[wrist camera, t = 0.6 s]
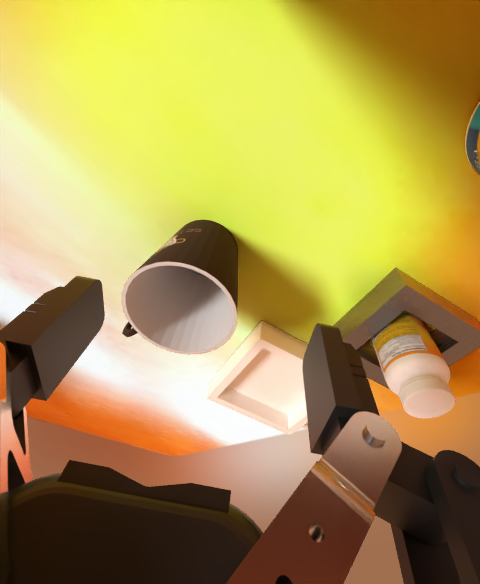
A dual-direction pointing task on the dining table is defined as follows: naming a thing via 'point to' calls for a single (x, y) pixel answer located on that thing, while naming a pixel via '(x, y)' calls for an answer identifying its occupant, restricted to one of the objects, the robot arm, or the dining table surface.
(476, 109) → the beverage bottle
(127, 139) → the dining table surface
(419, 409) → the supplement bottle
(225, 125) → the dining table surface
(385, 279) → the socket collar
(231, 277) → the coffee mug
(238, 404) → the tray
